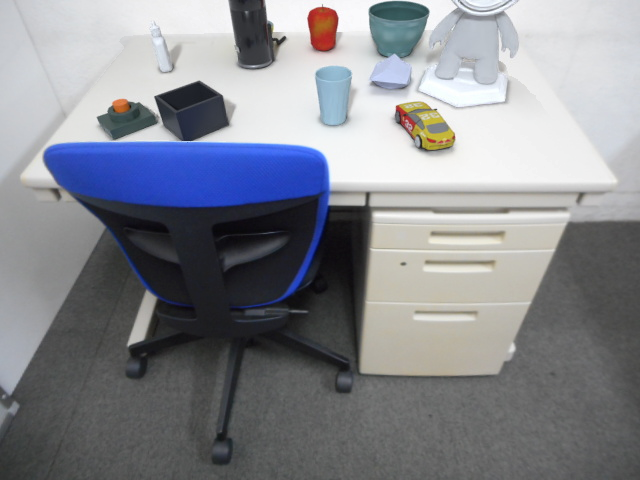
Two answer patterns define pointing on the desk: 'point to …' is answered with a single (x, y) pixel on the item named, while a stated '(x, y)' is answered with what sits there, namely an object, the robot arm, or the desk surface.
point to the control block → (126, 120)
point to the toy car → (425, 125)
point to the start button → (121, 105)
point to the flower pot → (397, 26)
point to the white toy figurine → (471, 54)
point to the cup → (333, 93)
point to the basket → (192, 110)
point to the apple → (323, 27)
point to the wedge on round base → (391, 73)
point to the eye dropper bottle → (160, 49)
